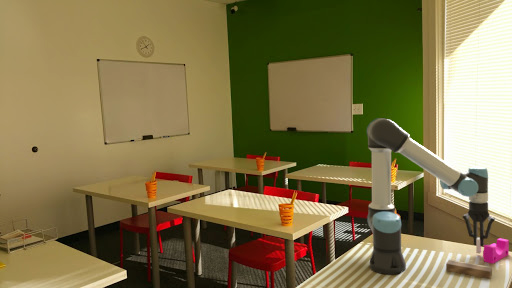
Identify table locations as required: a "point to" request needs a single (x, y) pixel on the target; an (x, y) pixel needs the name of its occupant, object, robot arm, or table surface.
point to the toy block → (496, 251)
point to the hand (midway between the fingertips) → (478, 252)
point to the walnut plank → (469, 269)
